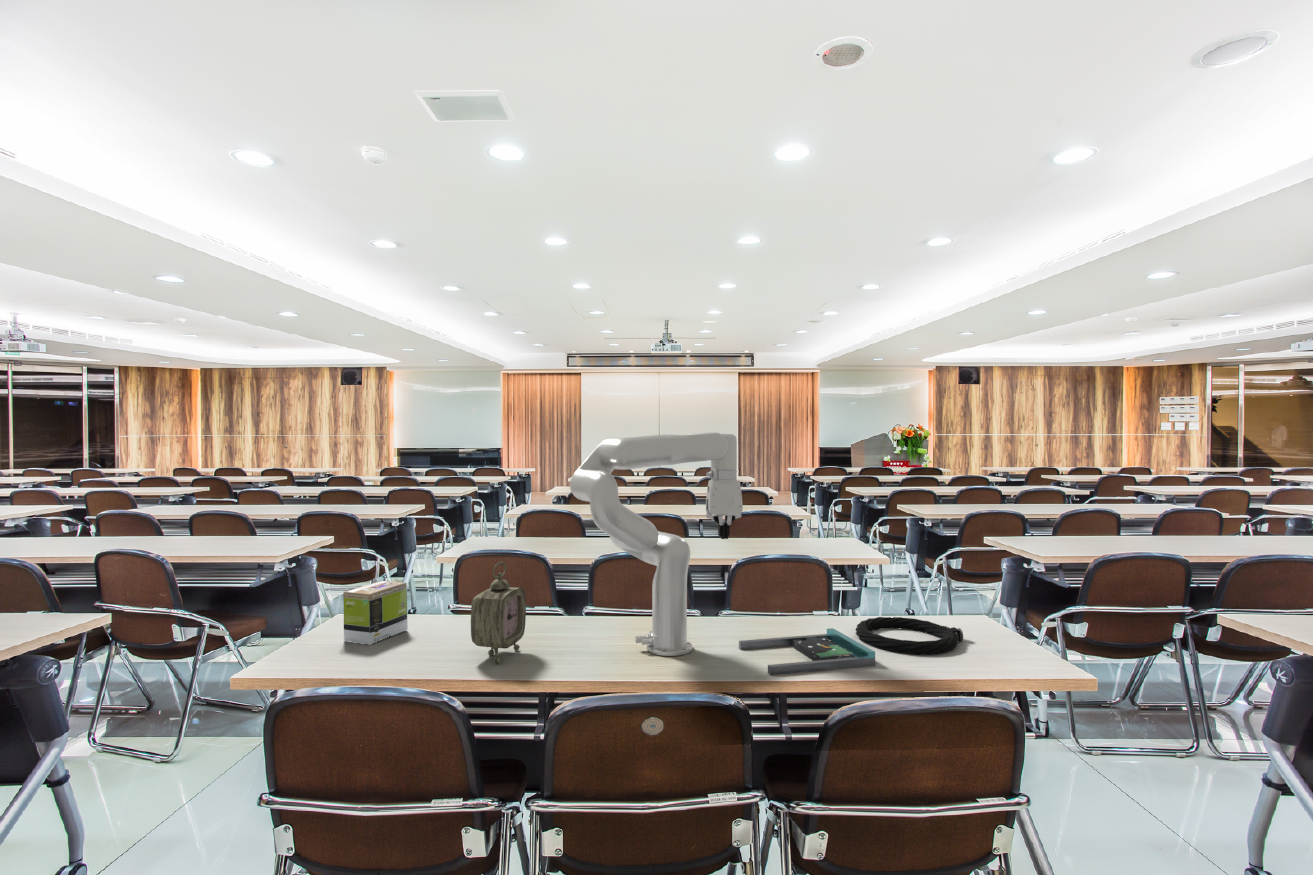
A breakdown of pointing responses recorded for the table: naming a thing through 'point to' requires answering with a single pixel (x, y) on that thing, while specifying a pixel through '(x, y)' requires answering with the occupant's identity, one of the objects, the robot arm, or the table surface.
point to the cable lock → (906, 646)
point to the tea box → (375, 612)
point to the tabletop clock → (498, 616)
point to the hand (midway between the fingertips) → (723, 538)
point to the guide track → (860, 652)
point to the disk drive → (821, 649)
